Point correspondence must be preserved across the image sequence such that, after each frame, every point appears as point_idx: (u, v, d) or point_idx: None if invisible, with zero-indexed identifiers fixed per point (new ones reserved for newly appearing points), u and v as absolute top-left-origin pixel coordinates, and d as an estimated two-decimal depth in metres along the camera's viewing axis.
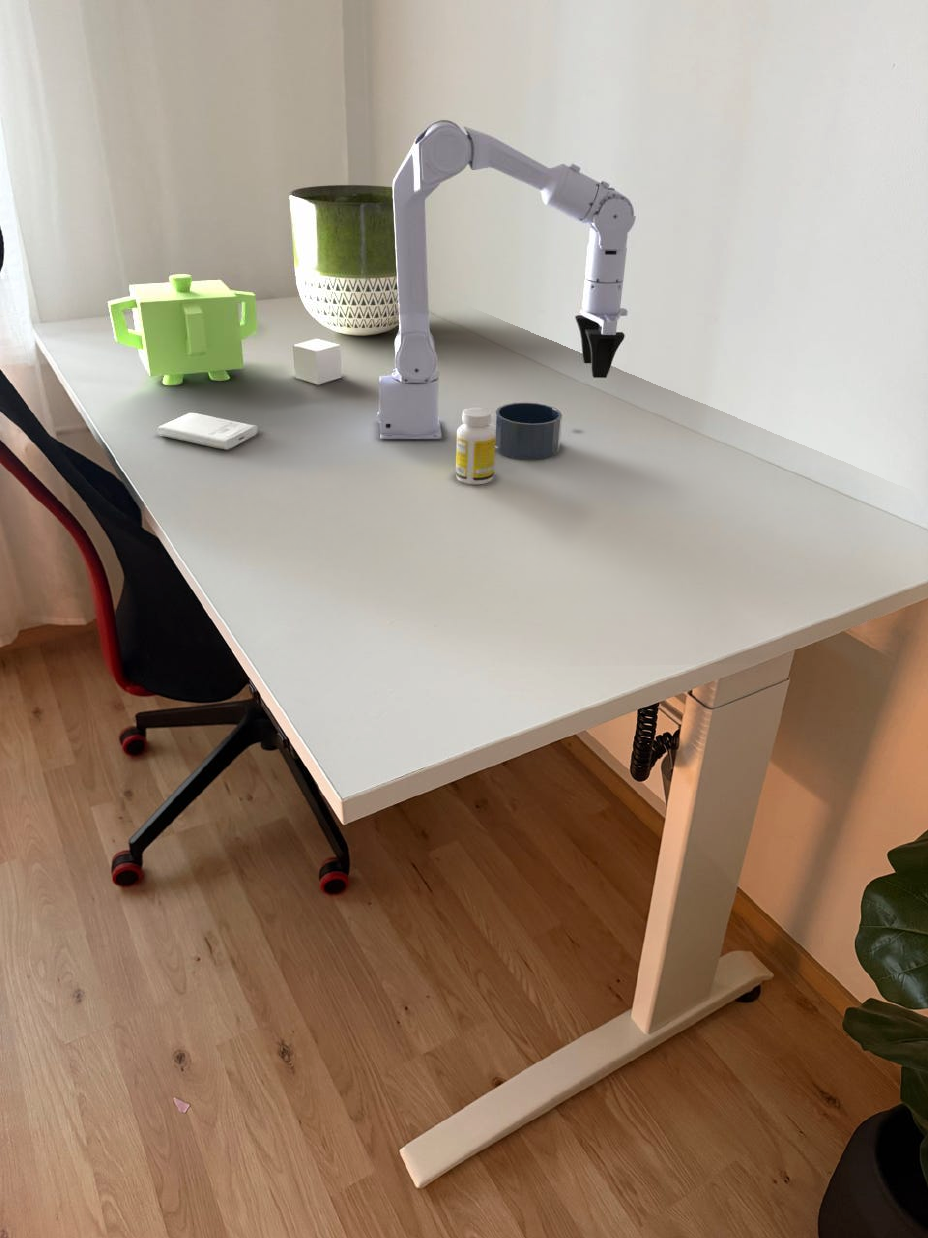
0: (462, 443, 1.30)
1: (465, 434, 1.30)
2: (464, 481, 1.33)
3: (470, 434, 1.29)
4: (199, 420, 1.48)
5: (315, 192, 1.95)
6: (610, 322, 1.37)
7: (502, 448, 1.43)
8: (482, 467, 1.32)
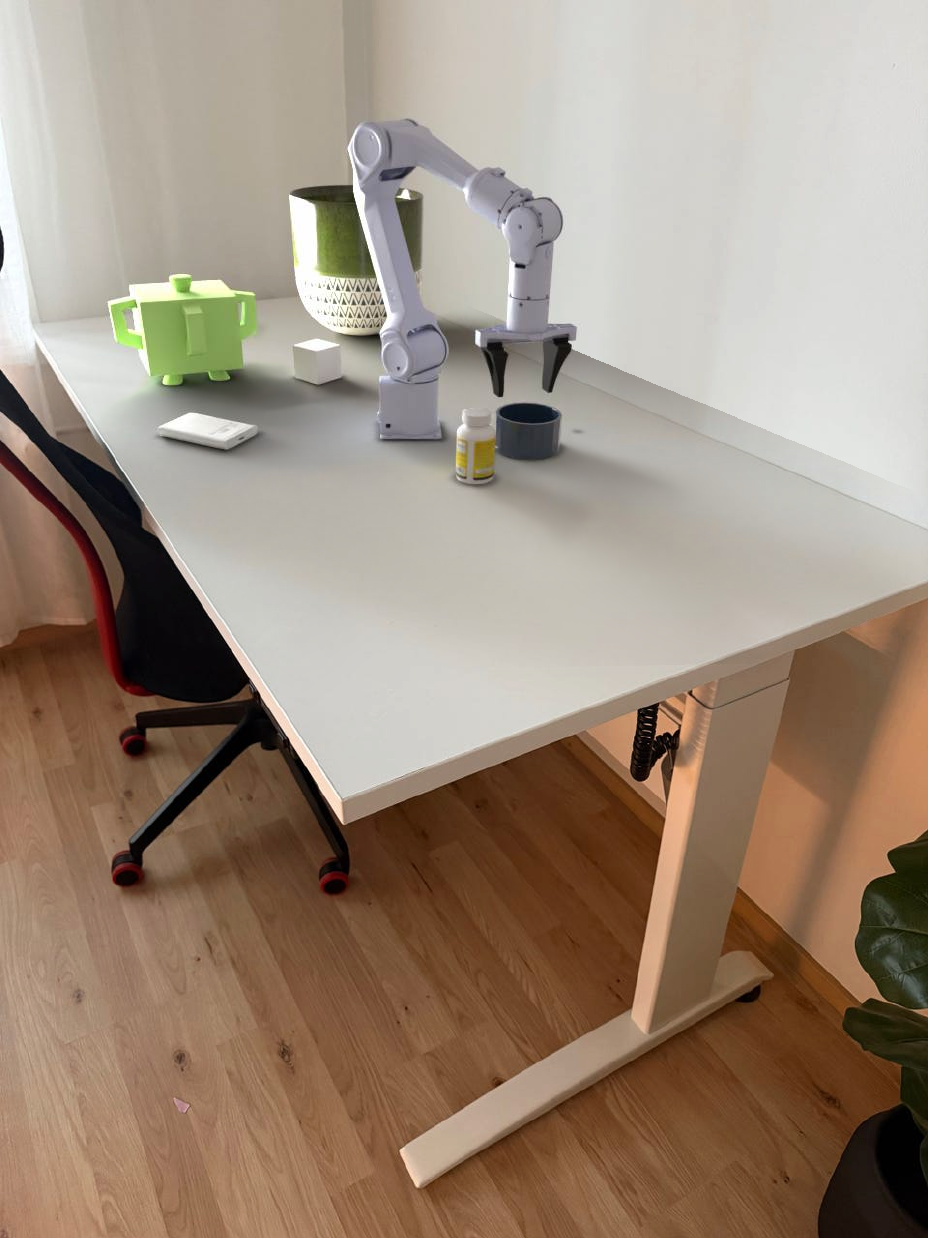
0: (462, 443, 1.30)
1: (465, 434, 1.30)
2: (464, 481, 1.33)
3: (470, 434, 1.29)
4: (199, 420, 1.48)
5: (315, 192, 1.95)
6: (478, 332, 1.29)
7: (502, 448, 1.43)
8: (482, 467, 1.32)
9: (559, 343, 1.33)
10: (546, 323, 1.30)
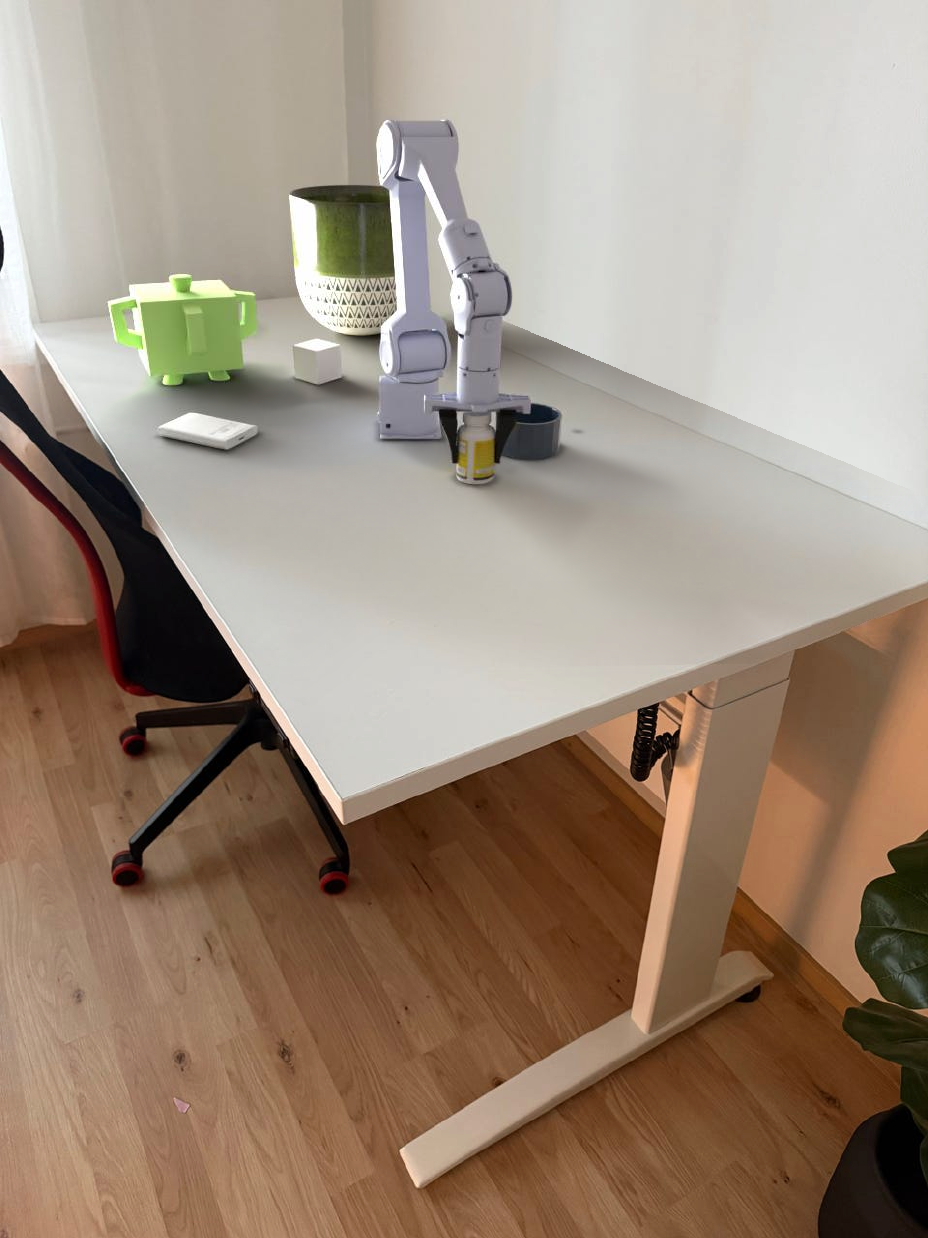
0: (462, 443, 1.30)
1: (465, 434, 1.30)
2: (464, 481, 1.33)
3: (470, 434, 1.29)
4: (199, 420, 1.48)
5: (315, 192, 1.95)
6: (424, 398, 1.29)
7: None
8: (482, 467, 1.32)
9: (505, 415, 1.29)
10: (493, 395, 1.27)
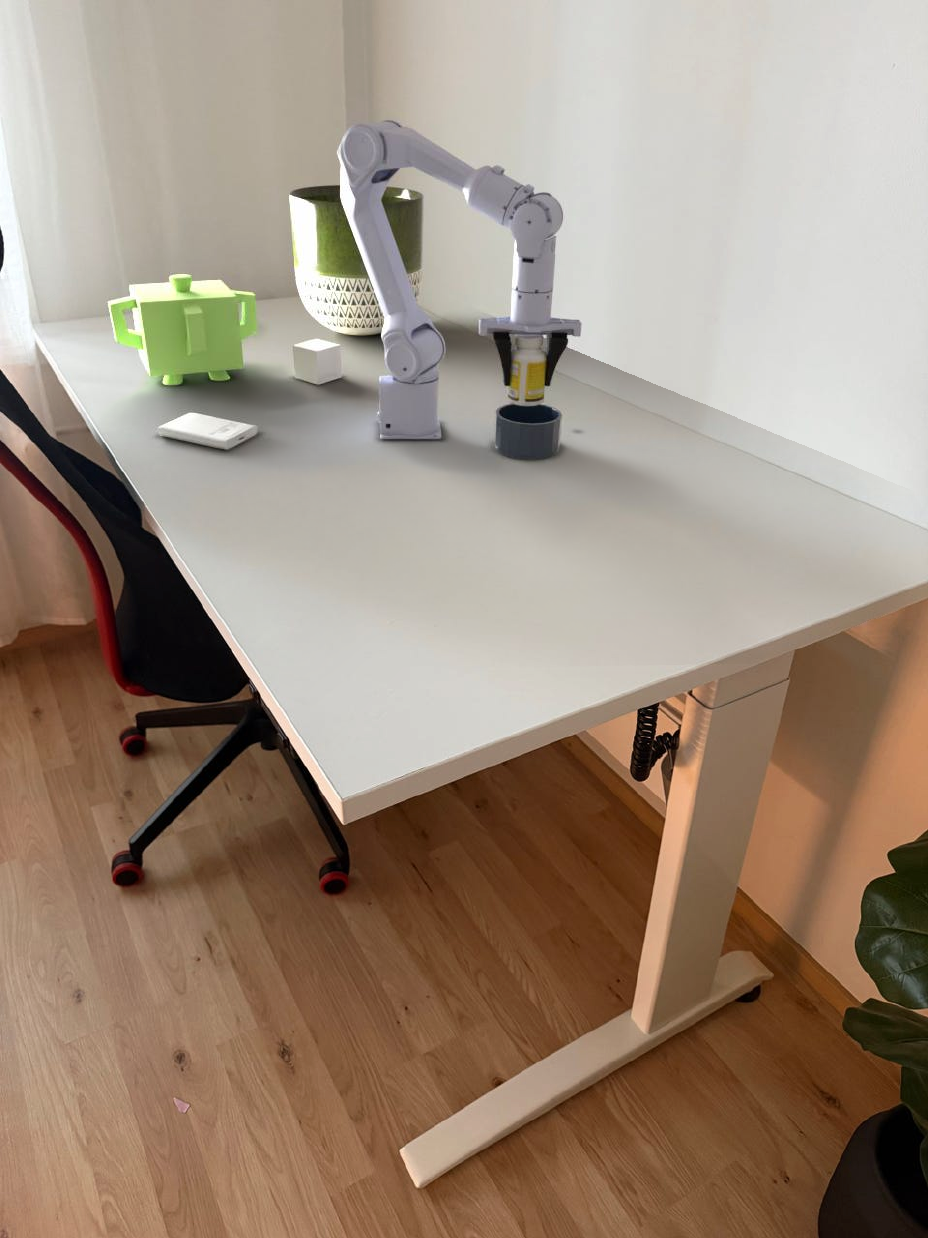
0: (515, 365, 1.36)
1: (518, 356, 1.36)
2: (516, 403, 1.39)
3: (523, 355, 1.35)
4: (199, 420, 1.48)
5: (315, 192, 1.95)
6: (479, 321, 1.34)
7: (502, 448, 1.43)
8: (534, 388, 1.37)
9: (556, 338, 1.35)
10: (546, 317, 1.33)
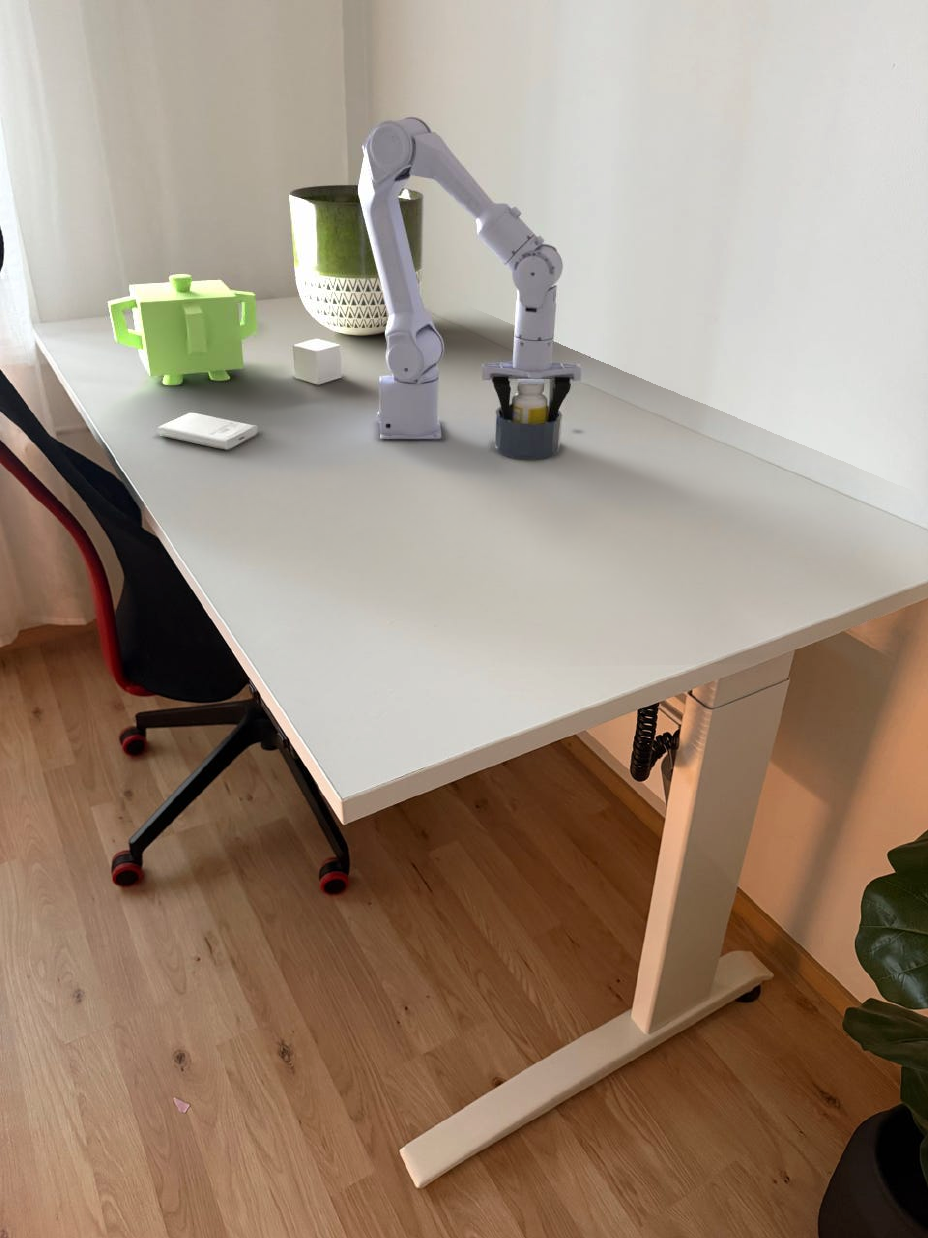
0: (517, 411, 1.41)
1: (520, 402, 1.40)
2: None
3: (525, 401, 1.40)
4: (199, 420, 1.48)
5: (315, 192, 1.95)
6: (483, 366, 1.39)
7: (502, 448, 1.43)
8: None
9: (559, 382, 1.40)
10: (547, 362, 1.37)
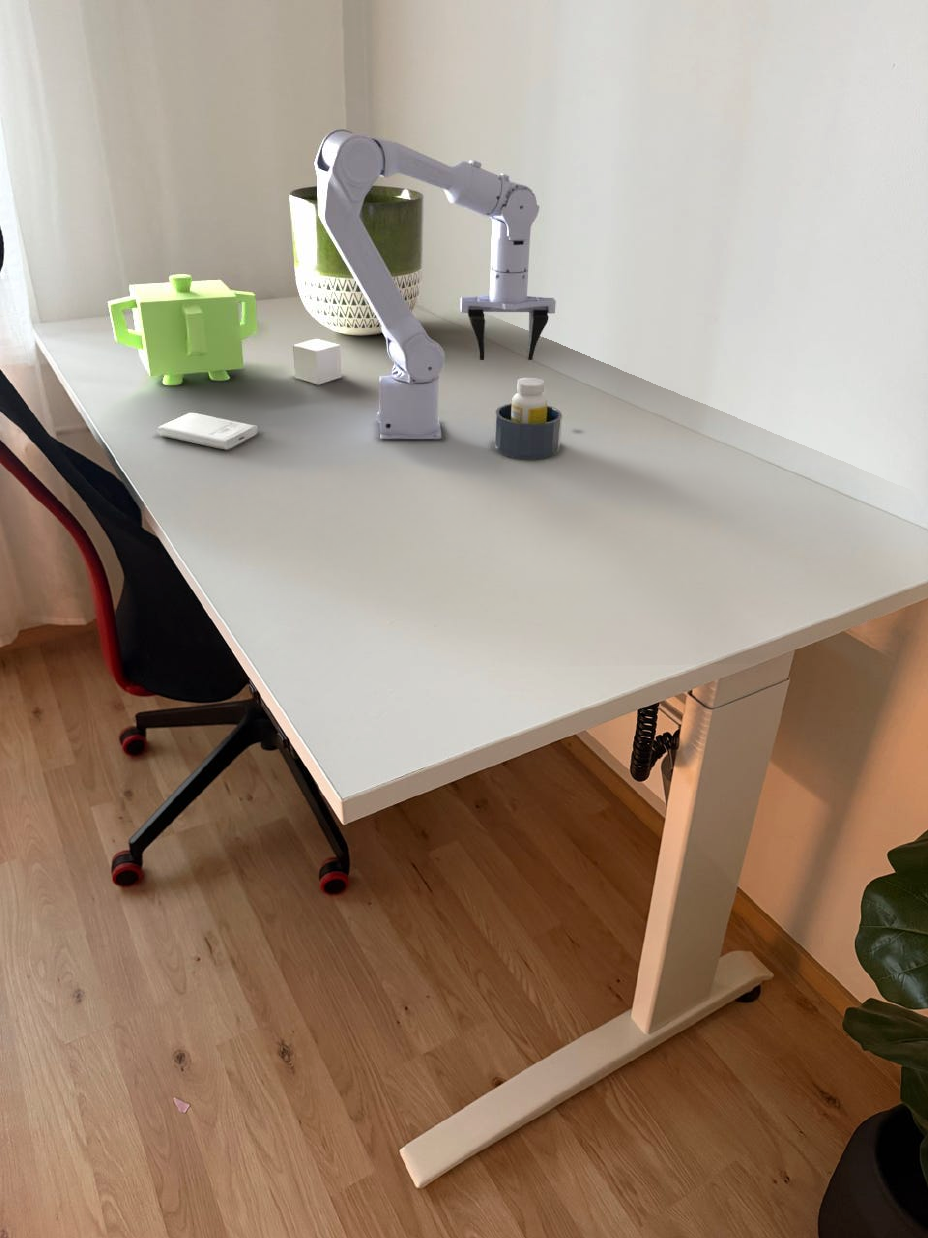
0: (517, 411, 1.41)
1: (520, 402, 1.40)
2: None
3: (525, 401, 1.40)
4: (199, 420, 1.48)
5: (315, 192, 1.95)
6: (461, 299, 1.45)
7: (502, 448, 1.43)
8: None
9: (537, 314, 1.46)
10: (523, 295, 1.44)
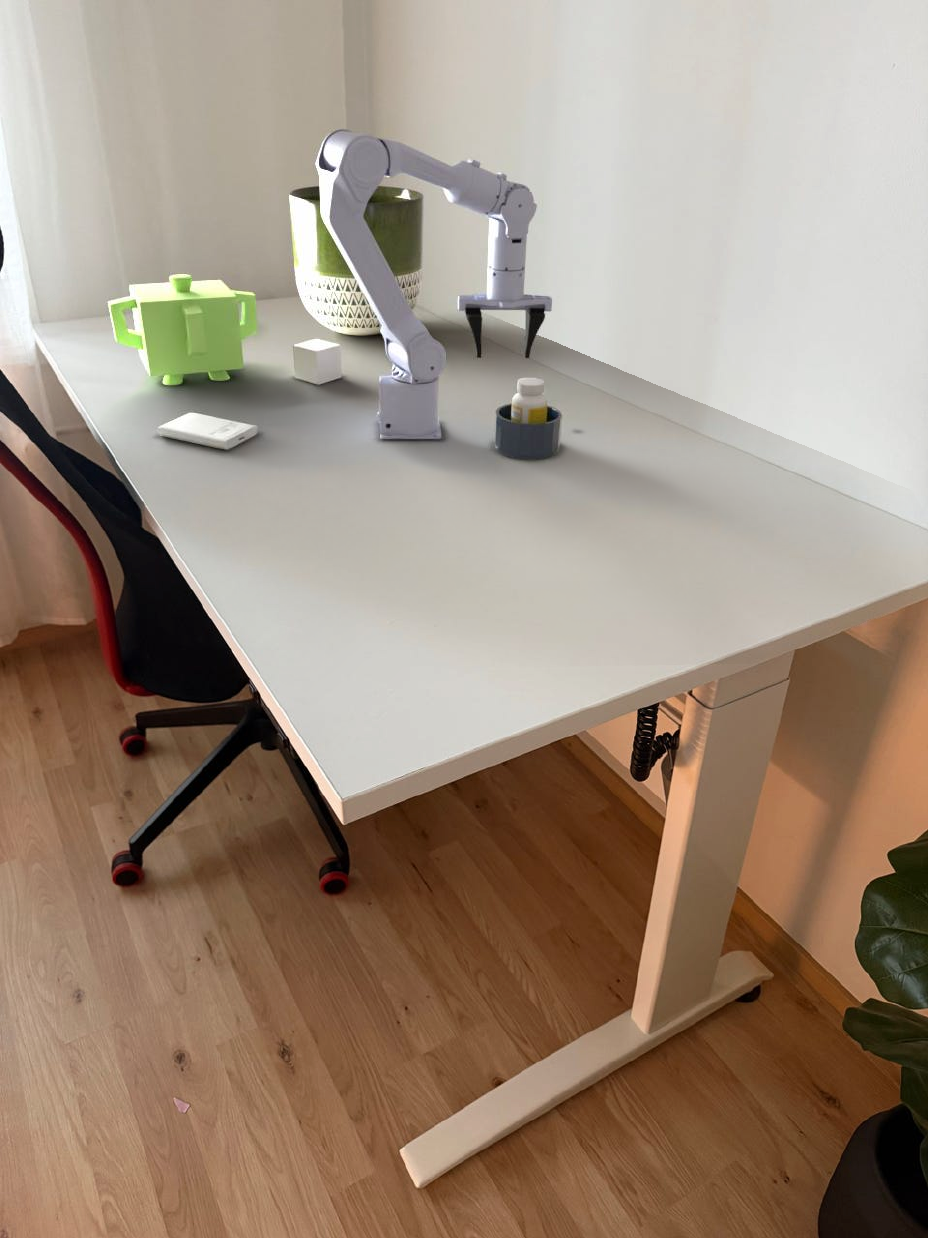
0: (517, 411, 1.41)
1: (520, 402, 1.40)
2: None
3: (525, 401, 1.40)
4: (199, 420, 1.48)
5: (315, 192, 1.95)
6: (458, 297, 1.46)
7: (502, 448, 1.43)
8: None
9: (534, 312, 1.47)
10: (519, 293, 1.45)
